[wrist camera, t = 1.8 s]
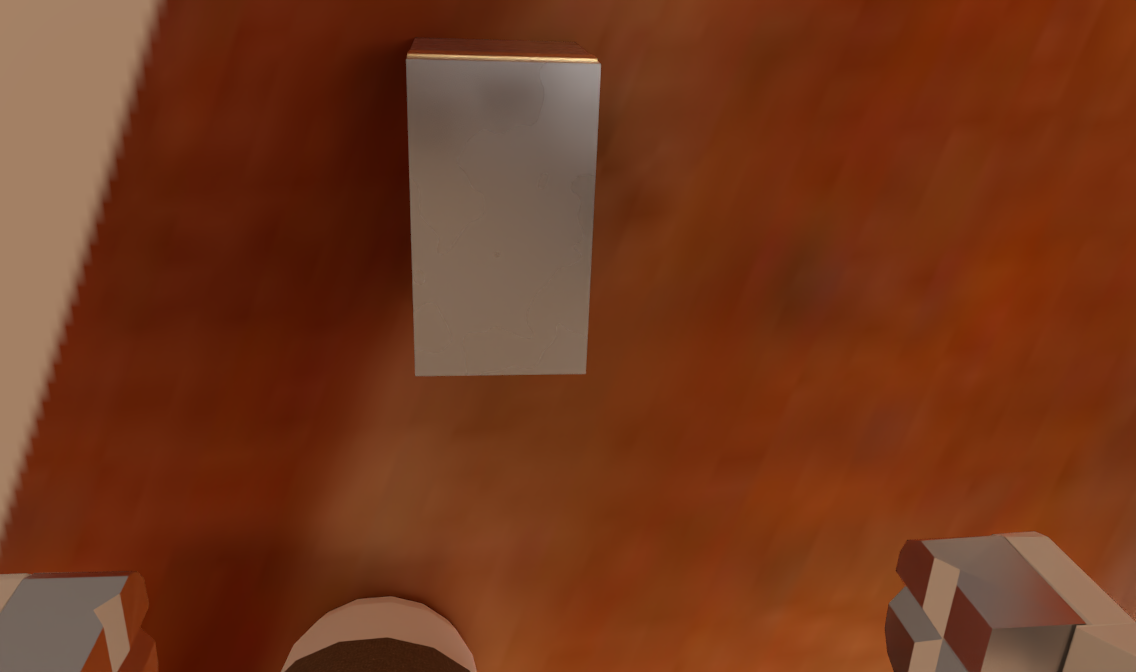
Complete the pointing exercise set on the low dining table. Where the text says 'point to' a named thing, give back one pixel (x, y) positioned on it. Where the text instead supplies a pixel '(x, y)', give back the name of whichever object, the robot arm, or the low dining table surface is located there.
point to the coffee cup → (381, 640)
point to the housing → (501, 204)
